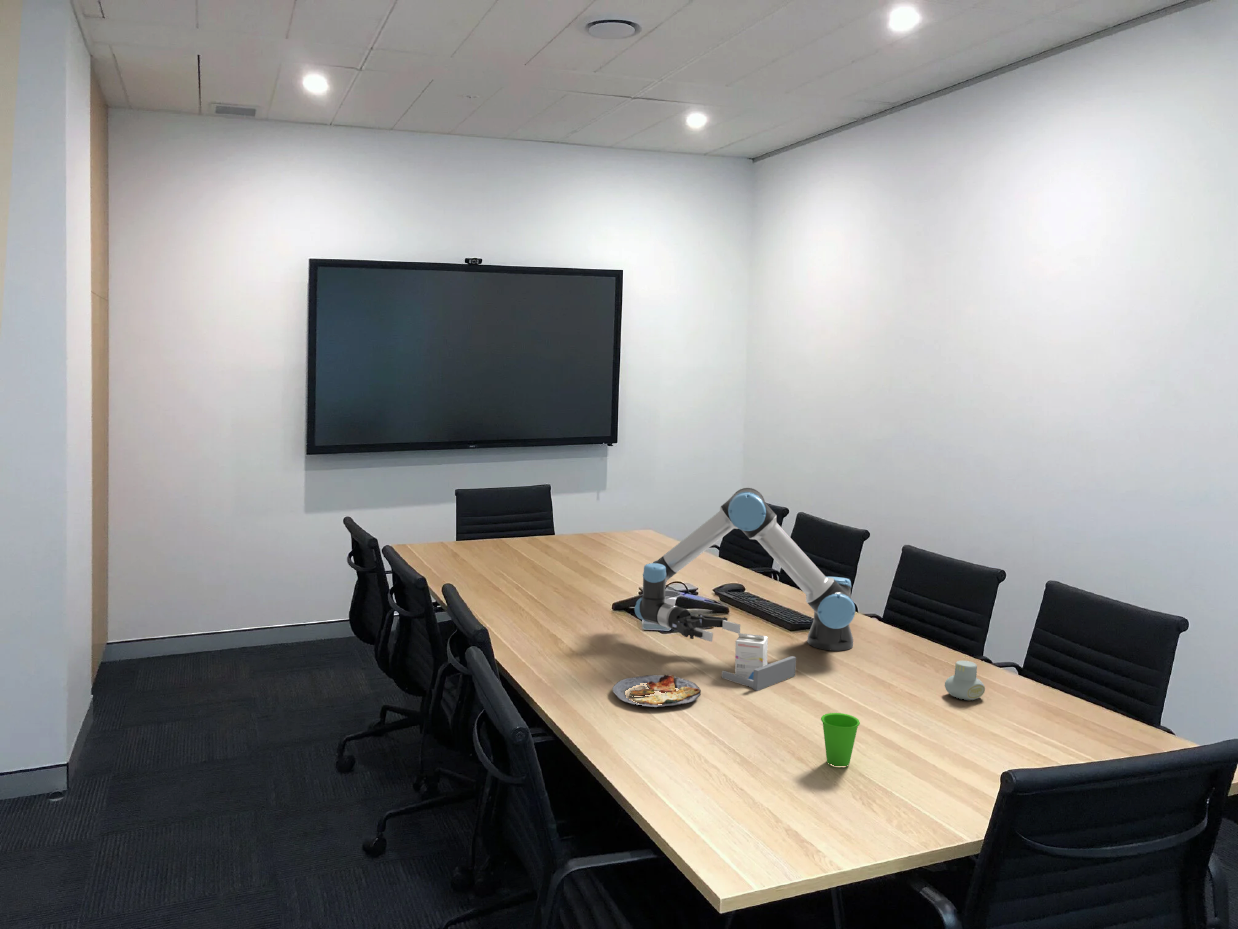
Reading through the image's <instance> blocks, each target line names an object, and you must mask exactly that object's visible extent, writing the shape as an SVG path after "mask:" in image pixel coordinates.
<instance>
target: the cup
mask: <svg viewBox="0 0 1238 929" xmlns="http://www.w3.org/2000/svg"><path fill="white" fill-rule="evenodd" d="M820 720H821V722H822V729H823V738H824V747H825V756H826V757H825V758H826V762H827V764H828V763H829V764H832V765H834V766H847V765H848V766H849V765H850V762H851V758H852V753H853V749H854V744H855V740H856V735H857V731H858V726H860V724H861V721H860V719H858V718H857V717H855V716H853V715H851V714H847V713H841V712H830V713H829V712H828V713H825V714H823V715H822V716H821V718H820ZM829 764H828V765H829Z"/></svg>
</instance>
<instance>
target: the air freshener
mask: <svg viewBox="0 0 1238 929" xmlns="http://www.w3.org/2000/svg"><path fill="white" fill-rule="evenodd" d="M954 664H955V665H954V667H955V668H954V674H953V675H951V676H949V677H947V679H946V680H945V681H944V688H945V691H946V692H947V693H948V694H950V695H951V696H952V697H953V698H955V697H956V699H958V698H959V700H962V699H964V700H963V701H968V700H972V701H974V700H977V699H980V698H981V697H982V696H983V695H984V694H985V692H986V686H985V685H984V683H983V681H981V679H979V678H977V675H978V674H977V673H978V665H977V664H976V663H975V662H973V661H971V660H969V661H968V660H957V661H956V662H955V663H954Z"/></svg>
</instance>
